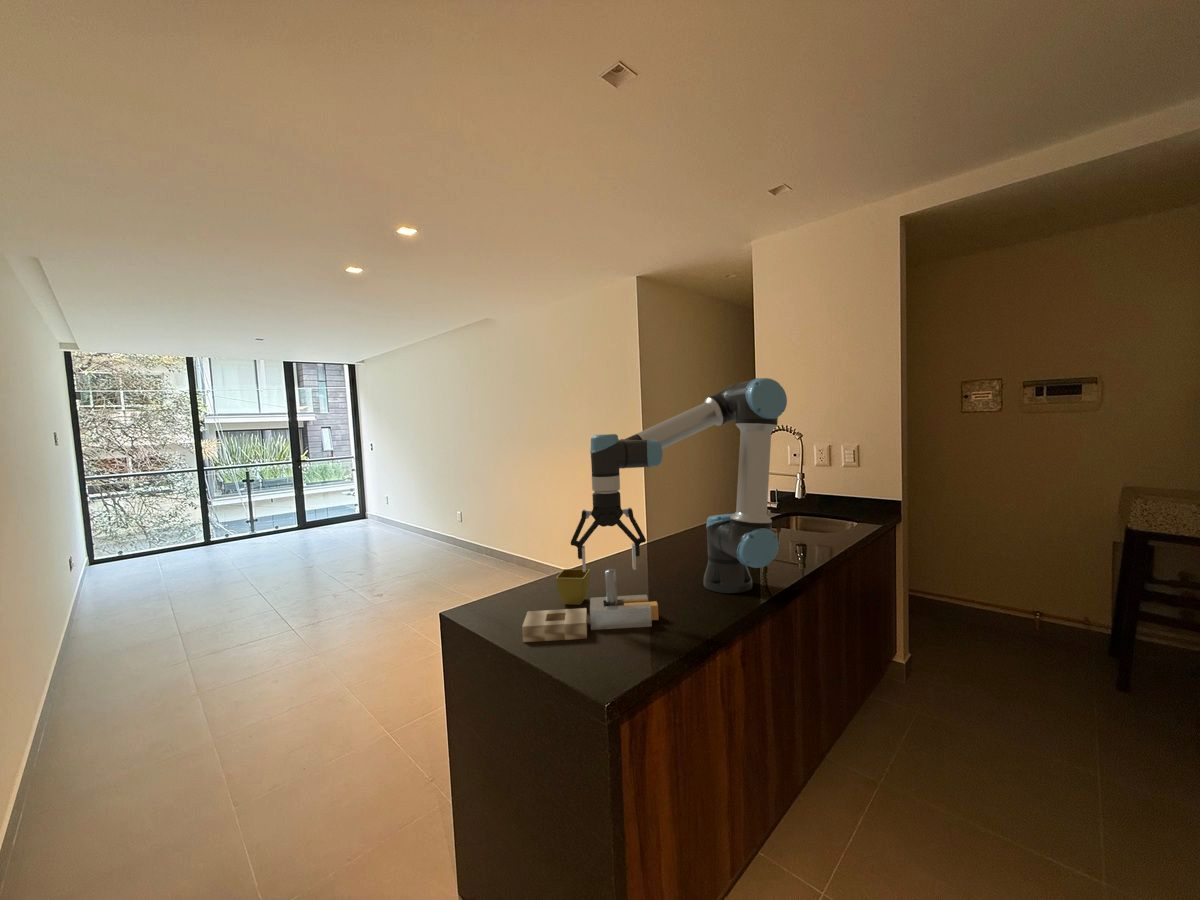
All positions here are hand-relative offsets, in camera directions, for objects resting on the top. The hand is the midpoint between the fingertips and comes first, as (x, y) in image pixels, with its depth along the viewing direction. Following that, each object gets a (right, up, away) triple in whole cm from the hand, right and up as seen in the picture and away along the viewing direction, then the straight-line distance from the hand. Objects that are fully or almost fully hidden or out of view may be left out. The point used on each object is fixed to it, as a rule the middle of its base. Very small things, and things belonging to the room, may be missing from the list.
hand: (609, 569), depth 129 cm
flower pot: (-10, -14, +16) cm, 24 cm away
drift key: (+9, -14, +1) cm, 16 cm away
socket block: (+3, -14, +1) cm, 14 cm away
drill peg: (+1, -14, +1) cm, 14 cm away
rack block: (-14, -15, -5) cm, 21 cm away
